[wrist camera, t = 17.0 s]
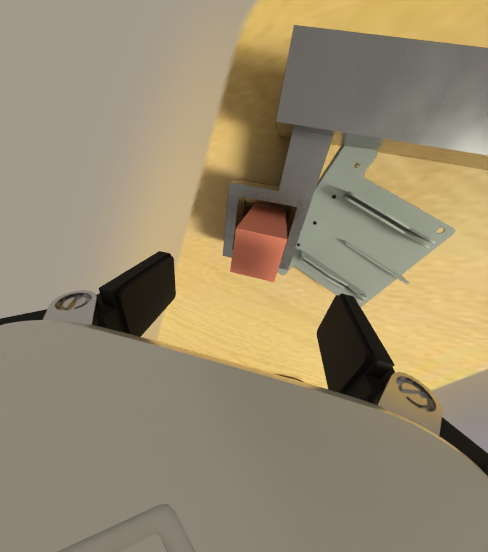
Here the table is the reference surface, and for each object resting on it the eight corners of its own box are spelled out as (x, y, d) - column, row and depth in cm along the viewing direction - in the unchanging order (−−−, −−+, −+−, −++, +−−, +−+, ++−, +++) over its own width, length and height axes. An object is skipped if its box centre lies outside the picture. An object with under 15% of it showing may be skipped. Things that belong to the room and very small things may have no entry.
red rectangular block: (277, 238, 22) (274, 281, 14) (249, 232, 22) (230, 271, 14) (285, 209, 20) (287, 239, 12) (255, 202, 20) (236, 228, 12)
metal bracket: (514, 216, 12) (352, 332, 21) (464, 211, 17) (348, 307, 25) (338, 123, 15) (253, 261, 23) (336, 142, 19) (267, 250, 27)
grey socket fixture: (431, 285, 22) (476, 321, 16) (231, 242, 23) (217, 263, 18) (586, 115, 13) (779, 82, 8) (251, 68, 15) (235, 18, 10)
